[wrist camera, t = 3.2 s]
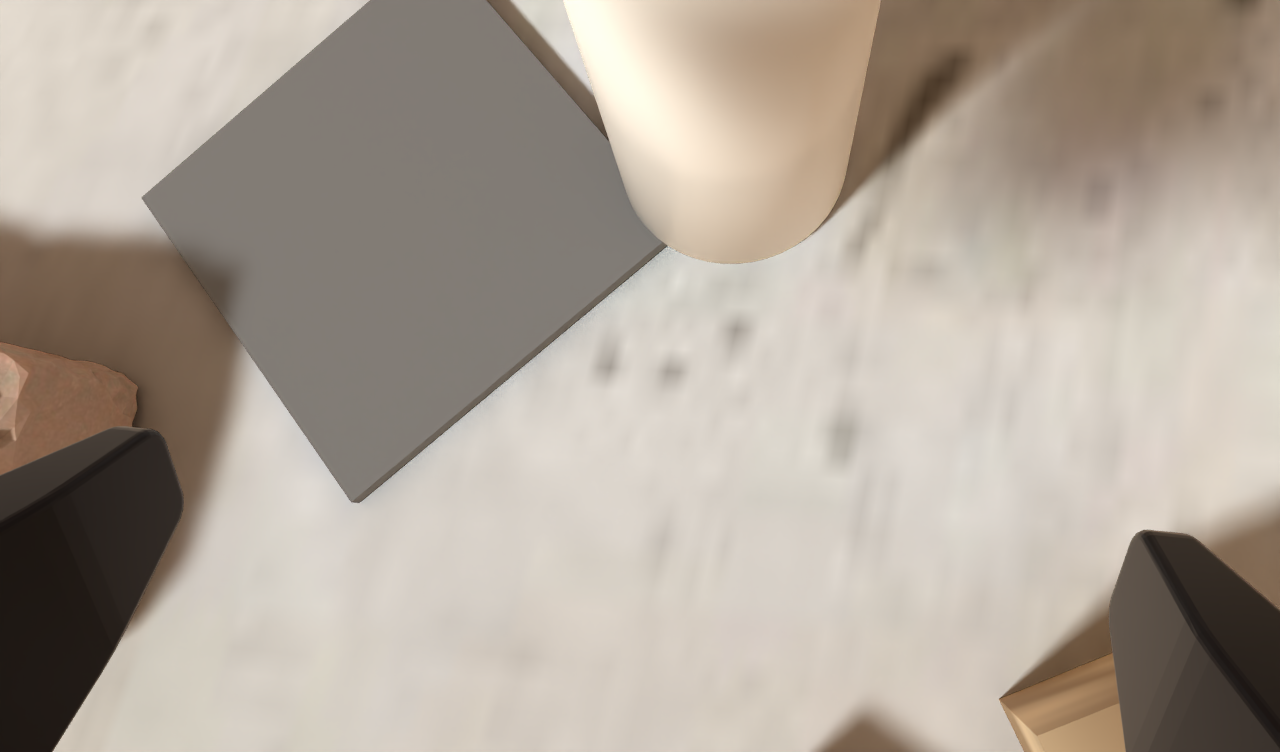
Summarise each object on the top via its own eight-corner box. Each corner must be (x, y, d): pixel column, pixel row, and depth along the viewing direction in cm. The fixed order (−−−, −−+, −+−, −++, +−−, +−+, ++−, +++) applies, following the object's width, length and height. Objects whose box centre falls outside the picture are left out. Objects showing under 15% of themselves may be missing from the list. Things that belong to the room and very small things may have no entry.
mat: (359, 503, 24) (351, 502, 23) (151, 202, 26) (141, 197, 26) (684, 231, 23) (682, 226, 23) (442, -48, 26) (436, -58, 25)
